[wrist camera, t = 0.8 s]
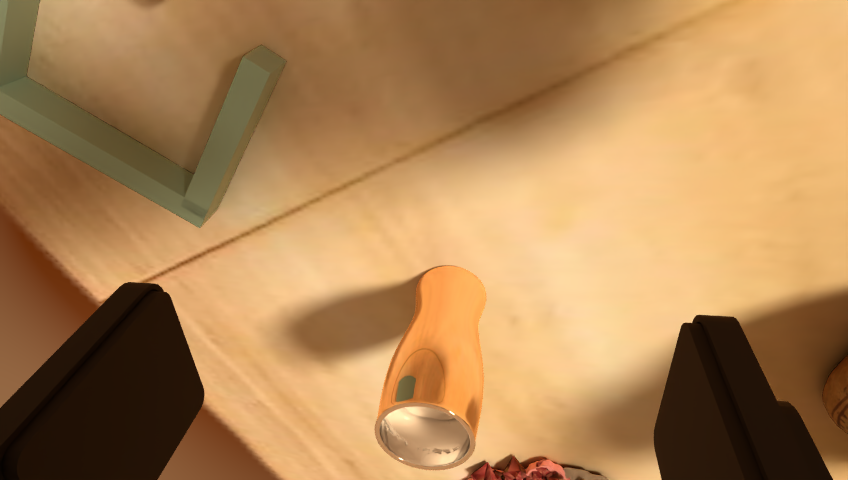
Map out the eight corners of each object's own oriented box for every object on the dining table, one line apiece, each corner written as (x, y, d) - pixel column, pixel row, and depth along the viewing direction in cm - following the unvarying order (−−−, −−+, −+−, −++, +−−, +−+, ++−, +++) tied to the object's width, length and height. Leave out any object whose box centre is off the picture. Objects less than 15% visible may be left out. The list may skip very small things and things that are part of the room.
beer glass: (403, 311, 50) (362, 454, 38) (422, 250, 46) (383, 388, 34) (477, 333, 50) (460, 484, 38) (503, 275, 47) (493, 421, 34)
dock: (25, -108, 36) (-12, -107, 34) (286, 61, 40) (270, 73, 37) (-2, 82, 44) (-34, 95, 42) (217, 209, 48) (200, 228, 45)
